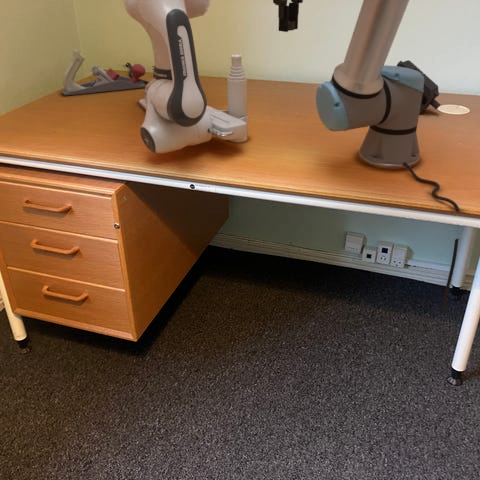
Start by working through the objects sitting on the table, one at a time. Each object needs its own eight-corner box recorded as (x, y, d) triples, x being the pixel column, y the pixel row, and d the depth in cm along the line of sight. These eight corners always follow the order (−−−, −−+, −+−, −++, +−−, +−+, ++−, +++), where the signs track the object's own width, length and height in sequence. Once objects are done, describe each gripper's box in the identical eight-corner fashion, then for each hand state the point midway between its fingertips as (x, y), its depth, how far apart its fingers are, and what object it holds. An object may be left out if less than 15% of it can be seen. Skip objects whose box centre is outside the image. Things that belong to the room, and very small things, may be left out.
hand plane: (62, 90, 197) (53, 48, 189) (145, 82, 205) (140, 41, 197) (62, 96, 191) (54, 53, 184) (148, 87, 199) (143, 45, 191)
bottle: (245, 134, 156) (244, 52, 143) (249, 141, 151) (248, 57, 139) (227, 136, 155) (224, 53, 143) (230, 143, 150) (228, 58, 138)
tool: (378, 91, 179) (405, 54, 169) (421, 128, 175) (451, 93, 164) (370, 95, 176) (396, 58, 165) (413, 134, 171) (443, 98, 161)
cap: (280, 28, 148) (280, 19, 147) (294, 27, 148) (294, 19, 147) (281, 30, 145) (281, 22, 143) (296, 30, 145) (296, 22, 144)
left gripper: (220, 125, 134) (263, 114, 141) (178, 105, 148) (219, 96, 155) (221, 149, 138) (263, 136, 145) (180, 127, 152) (220, 117, 159)
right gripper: (298, -70, 141) (294, 23, 154) (258, -68, 131) (258, 33, 143) (322, -70, 137) (316, 26, 150) (283, -67, 126) (280, 36, 139)
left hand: (240, 115), depth 150 cm, fingers closed on bottle, 5 cm apart
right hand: (288, 29), depth 146 cm, fingers closed on cap, 4 cm apart
